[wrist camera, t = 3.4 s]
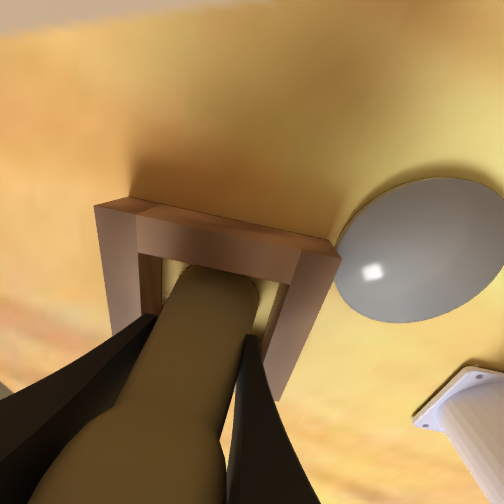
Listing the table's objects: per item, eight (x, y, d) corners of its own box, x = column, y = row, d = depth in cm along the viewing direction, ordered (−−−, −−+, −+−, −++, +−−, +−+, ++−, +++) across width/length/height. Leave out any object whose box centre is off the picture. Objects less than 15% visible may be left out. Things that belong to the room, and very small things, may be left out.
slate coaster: (545, 198, 10) (561, 200, 9) (438, 328, 14) (445, 335, 13) (370, 159, 10) (376, 159, 9) (311, 301, 14) (313, 307, 13)
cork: (174, 253, 13) (-150, 566, 3) (266, 270, 13) (249, 647, 3) (175, 322, 15) (2, 613, 6) (251, 336, 15) (215, 658, 5)
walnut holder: (328, 240, 12) (342, 259, 9) (277, 369, 17) (278, 401, 15) (128, 196, 12) (93, 205, 9) (137, 340, 17) (117, 368, 14)
